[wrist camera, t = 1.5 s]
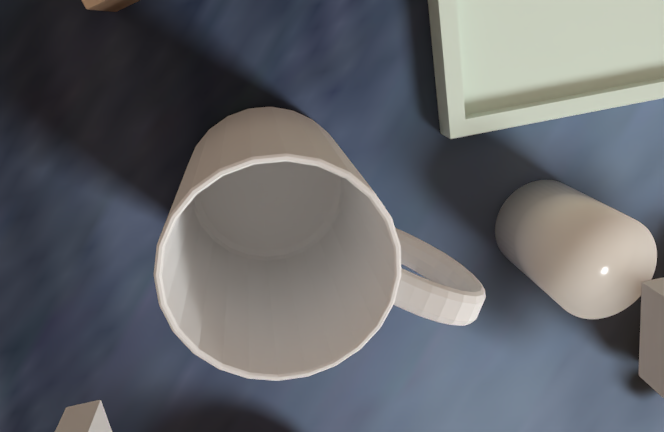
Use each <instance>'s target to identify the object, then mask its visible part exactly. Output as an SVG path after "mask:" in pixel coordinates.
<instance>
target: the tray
mask: <svg viewBox="0 0 664 432" xmlns="http://www.w3.org/2000/svg"><path fill="white" fill-rule="evenodd" d="M428 8H429V19H430V29H431V40H432V50H433V61H434V72H435V82H436V93H437V103H438V114H439V124H440V133H441V134H443V135H444V136H446V137H448V138H450V139H453V138H459V137H464V136H469V135H474V134H479V133H484V132H490V131H495V130H500V129H505V128H510V127H516V126H521V125H526V124H531V123H536V122H541V121H547V120H552V119H557V118H562V117H567V116H572V115H578V114H583V113H588V112H593V111H598V110H604V109H609V108H614V107H619V106H624V105H629V104H635V103H640V102H645V101H650V100H655V99H661V98H664V0H428Z"/></svg>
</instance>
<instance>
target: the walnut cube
mask: <svg viewBox="0 0 664 432" xmlns="http://www.w3.org/2000/svg"><path fill="white" fill-rule="evenodd" d="M138 1H140V0H82V2H83V4H84V6H85V7H86V9H88V10H99V11H111V12H117V11H119V10H121V9H123V8H125V7H127V6H129V5H131V4H133V3H136V2H138Z"/></svg>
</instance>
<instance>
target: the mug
mask: <svg viewBox="0 0 664 432" xmlns="http://www.w3.org/2000/svg"><path fill="white" fill-rule="evenodd" d="M401 264H403V265H405V266H407V267H408V268H410V269H412V270H414V271H416V272H418V273H419V274H421V275H422V276H424V277H426V278H427V279H425V278H423V277H420V276H418V275H416V274H413V273H411V272H409V271H407V270H404V269H402V268H401ZM428 279H429V280H428ZM154 280H155V285H156V291H157V296H158V301H159V306H160V308H161V310H162V311H163V313H164V315H165V317H166V319H167V321H168V323H169V325H170V327H171V329H172V331H173V332H174V333H175V334H176V335H177V337H178V338H179V339H180V340H181V341H182V342H183V343H184V344H185V345H186V346H187V347H188V348H189V349H190V350H191V351H192V353H194V354H195V355H197V356H198V357H200V358H202V359H203V360H205V361H206V362H208V363H210V364H211V365H213V366H214V367H216V368H218V369H220V370H223V371H226V372H229V373H232V374H235V375H238V376H241V377H245V378H248V379H261V380H273V381H280V380H287V379H294V378H301V377H308V376H310V375H313V374H316V373H318V372H321V371H323V370H326V369H329V368H331V367H334V366H336V365H338V364H339V363H341V362H342V361H344V360H345V359H347V358H348V357H350V356H351V355H353V354H354V353H356V352H357V351H359V350H360V349H361V348H362V347H363V346H364V345H365V344H366V343H367V342H368V341H369V340H370V339H371V337H372V336H373V335H374V334H375V333H376V332H377V331H378V330H379V329H380V328H381V326H382V324H383V322H384V321H385V319H386V317H387V315H388V313H389V312H390V310H391V308H392V306H393V305H395V306H398V307H400V308H402V309H404V310H406V311H409V312H411V313H414V314H416V315H418V316H421V317H424V318H427V319H430V320H433V321H436V322H440V323H444V324H448V325H460V326H464V325H467V324H470V323H472V322H473V321H475V320H476V319H477V316H478V314H479V312H480V310H481V307H482V305H483V303H484V300H485V298H486V295H485V289H484V287H483V285H482V284H481V283H480V281H479V280H478V279H477V278H476V277H475V276H474V275H473V274H472V273H471V272H470V271H469V270H467V269H466V268H465V267H464V266H463V265H461V264H460V263H459V262H457V261H456V260H454V259H453V258H451V257H450V256H448V255H447V254H445V253H444V252H442V251H440V250H438V249H436V248H435V247H433V246H431V245H429V244H428V243H426V242H424V241H422V240H420V239H418V238H416V237H414V236H412V235H410V234H408V233H406V232H404V231H401V230H399V229H397V228H395V226H394V223H393V220H392V217H391V216H390V214H389V213H388V211H387V210H386V209H385V207H384V206H383V204H382V203H381V201H380V200H379V198H378V197H377V195H376V194H375V192H374V191H373V190H372V188H371V187H370V186H369V185H368V183H367V182H366V181H365V179H364V178H363V177H362V176H361V174H360V173H359V172H358V170H357V169H356V168H355V167H354V165H353V164H352V163H351V161H350V160H349V159H348V158H347V156H346V155H345V154H344V152H343V151H342V150H341V148H340V147H339V146H338V145H337V143H336V142H335V141H334V139H333V138H332V137H331V136H330V134H329V133H328V132H327V131H325V130H324V129H323V128H322V127H321V126H319V125H318V124H317V123H316V122H315V121H314V120H312V119H310V118H308V117H306V116H304V115H302V114H299V113H297V112H295V111H293V110H288V109H282V108H276V107H260V108H249V109H246V110H243V111H240V112H238V113H235V114H232V115H229V116H227V117H226V118H224V119H223V120H222V121H220V122H219V123H217V124H216V125H215V126H213V127H212V128H210V129H209V130H208V132H207V133H206V134H205V135H204V136H203V138H202V139H201V140H200V141H199V143H198V144H197V145H196V147H195V149H194V151H193V154H192V156H191V158H190V161H189V163H188V166H187V168H186V171H185V173H184V176H183V178H182V181H181V184H180V186H179V189H178V191H177V194H176V197H175V199H174V202H173V204H172V207H171V210H170V212H169V215H168V217H167V220H166V222H165V225H164V228H163V230H162V233H161V235H160V238H159V241H158V243H157V249H156V258H155V267H154Z"/></svg>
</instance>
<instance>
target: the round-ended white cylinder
mask: <svg viewBox="0 0 664 432" xmlns="http://www.w3.org/2000/svg"><path fill="white" fill-rule="evenodd" d="M495 238H496V242H497V245H498V247H499V249H500V251H501V252H502V254H503V255H504V256H505V257H506V258H507V259H508V260H510V261H511V262H512V263H513V264H514V265H515V266H516V267H517V268H519V269H520V270H521V271H522V272H523V273H524V274H525V275H526V276H527V277H529V278H530V279H531V280H532V281H533V282H534V283H535V284H536V285H538V286H539V287H540V288H541V289H542V290H543V291H544V292H545V293H547V294H548V295H549V296H550V297H551V298H552V299H553V300H554V301H556V302H557V303H558V304H559V305H560V306H561V307H562V308H563V309H565V310H566V311H567V312H569V313H570V314H572V315H574V316H577V317H580V318H584V319H601V318H606V317H609V316H612V315H615V314H617V313H619V312H621V311H623V310H624V309H626V308H627V307H629V306H630V305H631V304H633V303H634V302H635V301H636V300H637V299H638V298H639V297H640V296H641V289H642V282H644V281H649V280H651V279H652V277H653V274H654V272H655V268H656V263H657V249H656V244H655V241H654V238H653V236H652V234H651V233H650V231H649V230H648V229H647V228H646V227H645V226H644V225H643V224H642V223H640V222H639V221H637V220H635V219H633V218H631V217H629V216H627V215H625V214H623V213H621V212H619V211H617V210H615V209H613V208H611V207H609V206H607V205H605V204H603V203H601V202H599V201H597V200H595V199H593V198H591V197H589V196H587V195H585V194H583V193H581V192H579V191H577V190H575V189H573V188H571V187H569V186H567V185H565V184H563V183H561V182H558V181H555V180H537V181H533V182H530V183H528V184H525V185H524V186H522V187H520V188H519V189H517V190H516V191H514V192H513V193H512V194H511V195H510V196H509V197H508V198H507V200H506V201H505V202H504V204H503V205H502V207H501V209H500V211H499V213H498V216H497V219H496V223H495Z"/></svg>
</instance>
